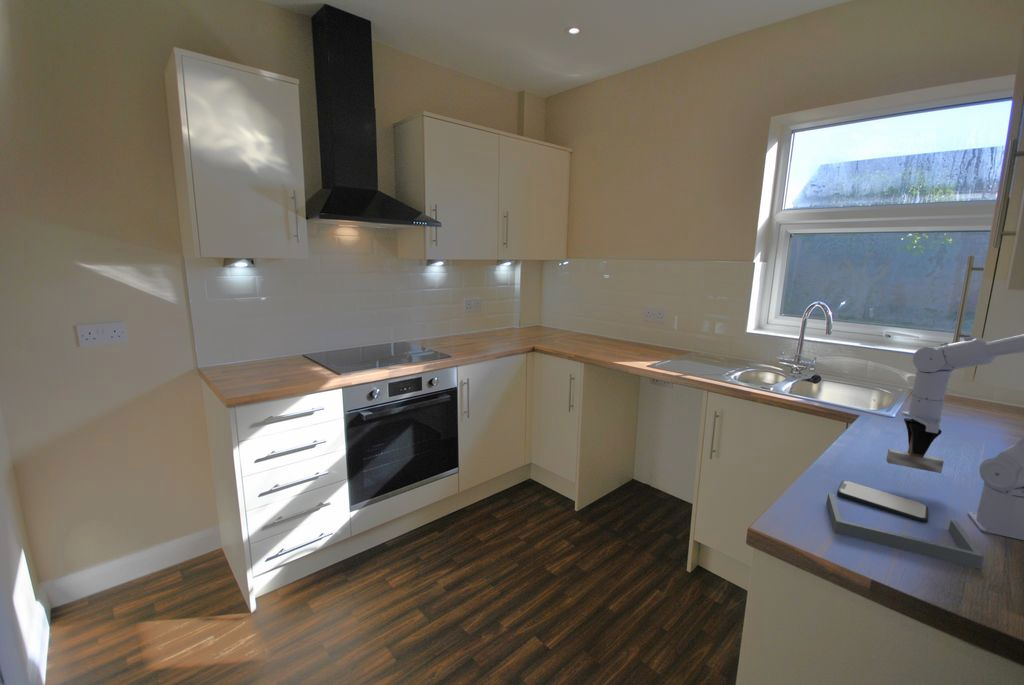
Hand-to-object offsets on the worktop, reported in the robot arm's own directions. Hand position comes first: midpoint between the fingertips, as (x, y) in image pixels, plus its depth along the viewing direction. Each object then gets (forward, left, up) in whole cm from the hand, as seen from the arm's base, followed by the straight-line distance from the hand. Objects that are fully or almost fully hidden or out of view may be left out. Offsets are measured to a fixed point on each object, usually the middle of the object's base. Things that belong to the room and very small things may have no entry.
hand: (916, 451), depth 113 cm
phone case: (+8, +13, -10) cm, 18 cm away
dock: (+8, +26, -9) cm, 29 cm away
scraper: (0, 0, -4) cm, 4 cm away
